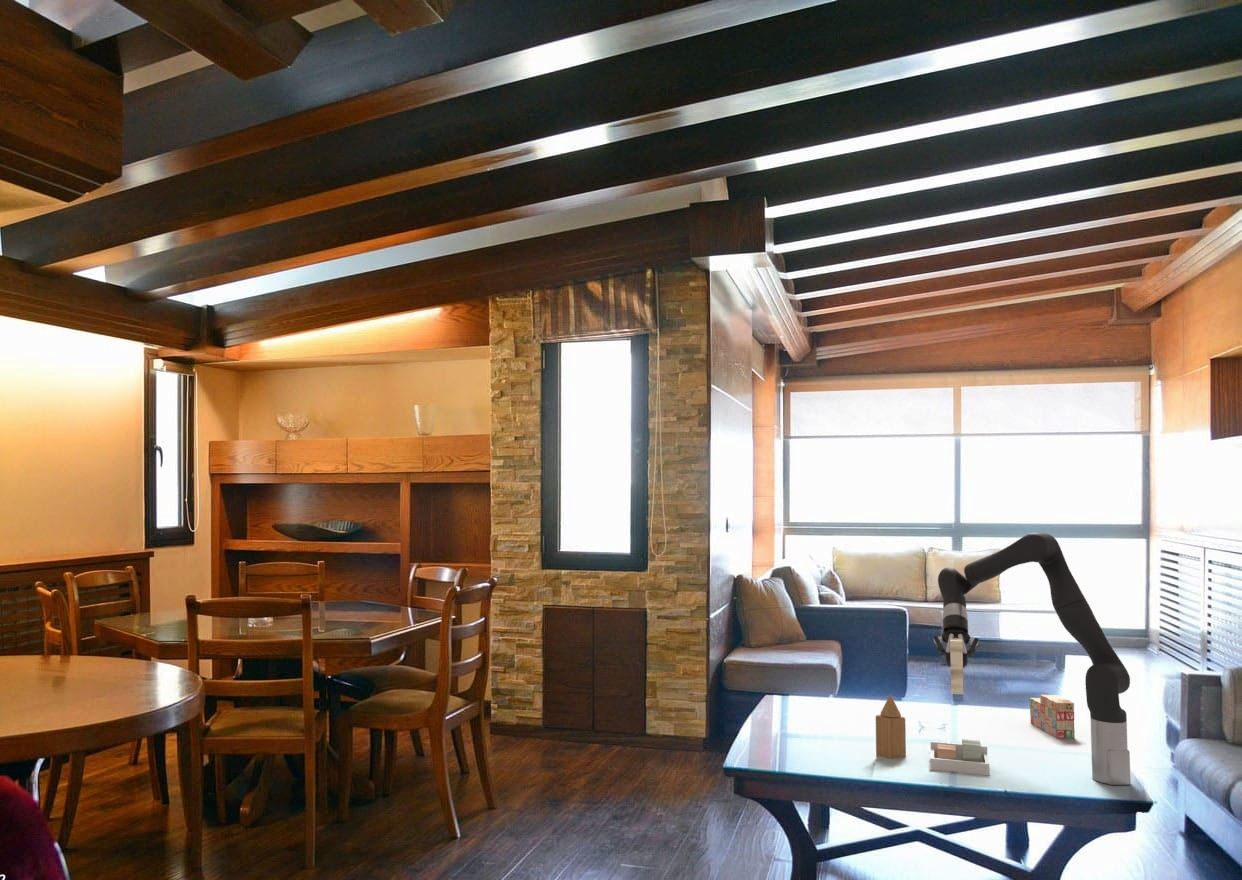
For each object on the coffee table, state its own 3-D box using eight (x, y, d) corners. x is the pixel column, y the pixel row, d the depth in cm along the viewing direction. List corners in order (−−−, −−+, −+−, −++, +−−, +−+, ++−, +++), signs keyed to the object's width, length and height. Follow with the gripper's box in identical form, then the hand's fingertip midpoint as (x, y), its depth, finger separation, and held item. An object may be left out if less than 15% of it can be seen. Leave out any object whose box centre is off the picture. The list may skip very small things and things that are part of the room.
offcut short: (955, 767, 263) (955, 749, 263) (937, 765, 265) (937, 748, 265) (955, 762, 268) (955, 745, 268) (937, 761, 269) (937, 744, 270)
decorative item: (906, 761, 274) (905, 695, 276) (890, 763, 271) (889, 696, 273) (891, 755, 280) (890, 691, 282) (875, 758, 277) (874, 692, 279)
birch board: (963, 694, 272) (962, 641, 273) (951, 693, 273) (950, 640, 274) (962, 690, 278) (961, 638, 280) (951, 689, 280) (949, 637, 281)
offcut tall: (981, 770, 260) (980, 745, 261) (963, 768, 262) (962, 744, 262) (980, 764, 266) (980, 740, 266) (962, 763, 267) (962, 739, 268)
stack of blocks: (1029, 723, 325) (1028, 689, 325) (1047, 723, 324) (1046, 689, 325) (1056, 738, 303) (1055, 701, 304) (1075, 739, 303) (1074, 702, 304)
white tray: (989, 780, 256) (989, 757, 256) (930, 774, 261) (930, 751, 261) (985, 758, 278) (985, 736, 279) (931, 753, 283) (930, 732, 284)
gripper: (931, 612, 287) (932, 656, 275) (978, 614, 282) (981, 659, 270) (932, 627, 291) (932, 671, 279) (978, 629, 287) (981, 674, 274)
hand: (956, 665), depth 275 cm, fingers closed on birch board, 3 cm apart
